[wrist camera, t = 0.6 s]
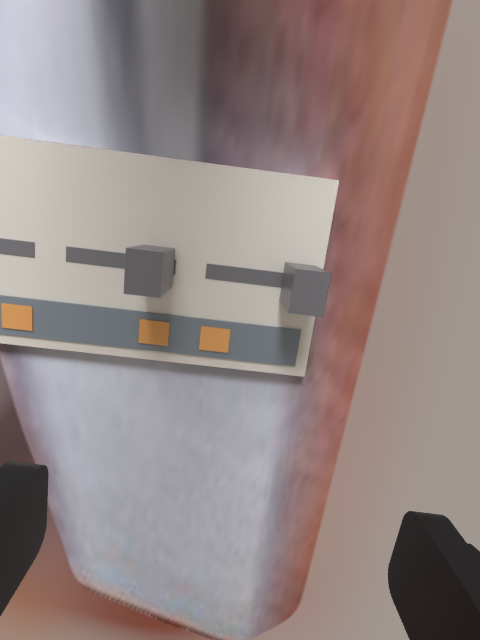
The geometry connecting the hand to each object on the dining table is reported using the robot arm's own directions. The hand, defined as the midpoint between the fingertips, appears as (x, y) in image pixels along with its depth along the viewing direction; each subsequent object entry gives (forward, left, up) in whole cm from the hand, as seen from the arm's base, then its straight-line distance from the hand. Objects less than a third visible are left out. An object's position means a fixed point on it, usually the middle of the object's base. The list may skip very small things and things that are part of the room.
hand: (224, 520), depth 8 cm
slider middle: (-3, -6, -22) cm, 23 cm away
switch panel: (-3, -9, -24) cm, 26 cm away
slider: (-3, +5, -22) cm, 23 cm away
